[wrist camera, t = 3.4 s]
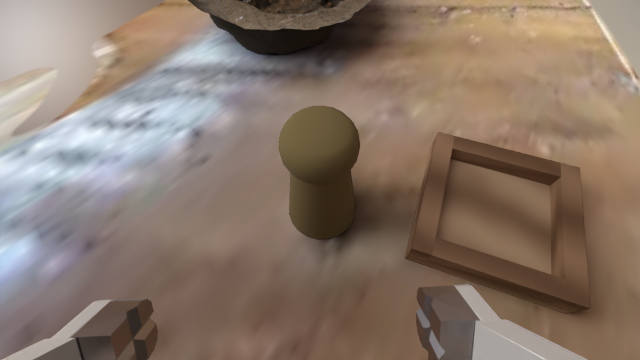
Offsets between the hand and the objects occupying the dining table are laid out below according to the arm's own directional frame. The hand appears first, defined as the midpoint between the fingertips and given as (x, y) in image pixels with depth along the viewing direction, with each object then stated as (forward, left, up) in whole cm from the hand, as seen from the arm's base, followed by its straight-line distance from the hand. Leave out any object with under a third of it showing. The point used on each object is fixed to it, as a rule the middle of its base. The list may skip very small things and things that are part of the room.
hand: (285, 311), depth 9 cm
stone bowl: (+36, +18, -15) cm, 43 cm away
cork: (+10, +3, -15) cm, 18 cm away
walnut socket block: (+14, -11, -15) cm, 23 cm away
